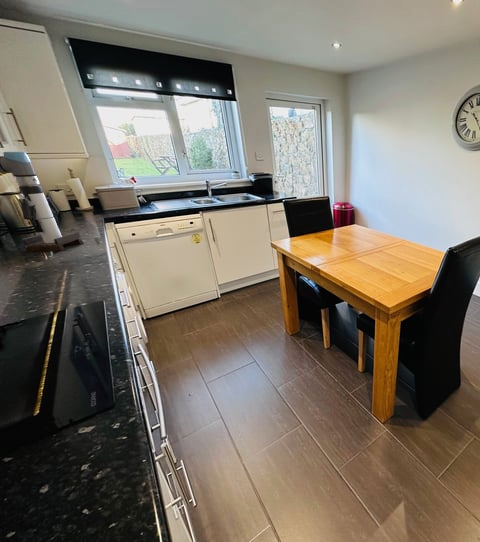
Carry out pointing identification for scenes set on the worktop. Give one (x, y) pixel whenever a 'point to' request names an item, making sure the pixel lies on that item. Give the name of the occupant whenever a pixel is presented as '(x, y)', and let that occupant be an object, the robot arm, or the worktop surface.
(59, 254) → the worktop surface
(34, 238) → the rack
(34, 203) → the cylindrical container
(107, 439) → the worktop surface
